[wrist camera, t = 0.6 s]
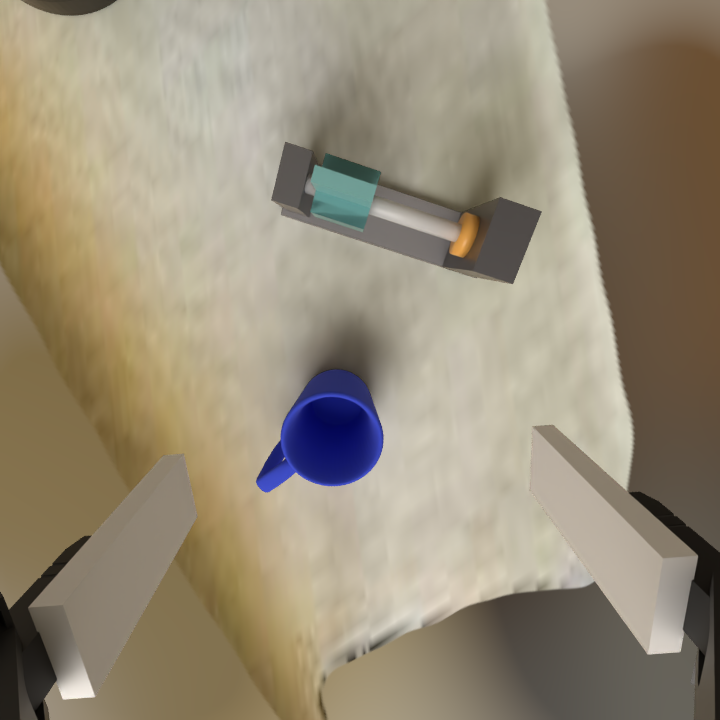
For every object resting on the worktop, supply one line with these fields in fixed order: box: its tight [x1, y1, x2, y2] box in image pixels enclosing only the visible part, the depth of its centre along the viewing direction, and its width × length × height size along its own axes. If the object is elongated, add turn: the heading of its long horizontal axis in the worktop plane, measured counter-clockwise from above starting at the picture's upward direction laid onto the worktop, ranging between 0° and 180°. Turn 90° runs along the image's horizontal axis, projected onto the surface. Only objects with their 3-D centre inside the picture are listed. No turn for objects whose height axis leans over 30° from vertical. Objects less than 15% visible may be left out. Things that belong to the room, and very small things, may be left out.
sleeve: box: [310, 153, 381, 232], centre depth 29 cm, size 4×4×8 cm
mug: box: [256, 369, 383, 492], centre depth 37 cm, size 8×12×10 cm
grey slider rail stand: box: [271, 142, 542, 284], centre depth 32 cm, size 19×5×11 cm, turn 73°
